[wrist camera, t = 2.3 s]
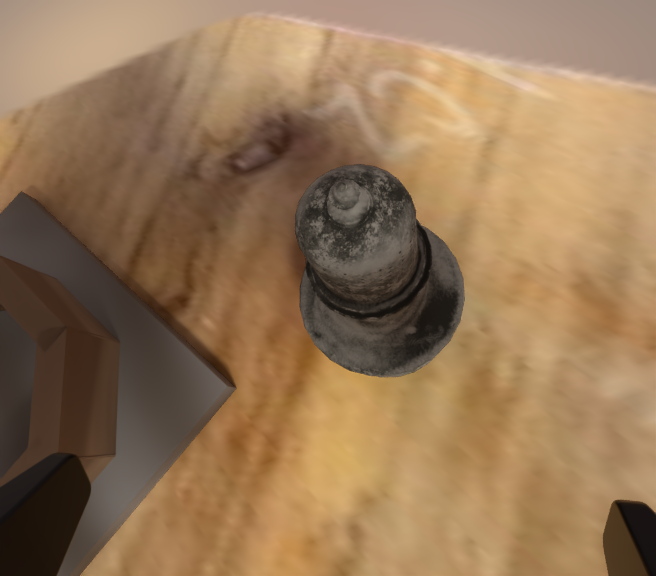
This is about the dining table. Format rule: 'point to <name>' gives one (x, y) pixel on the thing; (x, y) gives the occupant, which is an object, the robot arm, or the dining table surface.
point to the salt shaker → (374, 274)
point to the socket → (90, 375)
